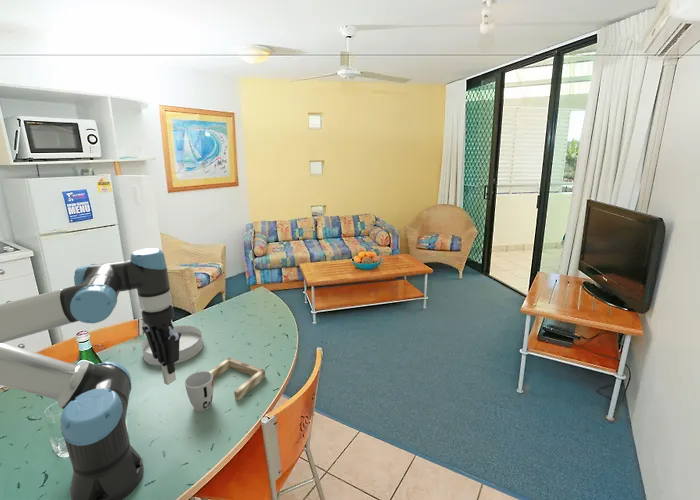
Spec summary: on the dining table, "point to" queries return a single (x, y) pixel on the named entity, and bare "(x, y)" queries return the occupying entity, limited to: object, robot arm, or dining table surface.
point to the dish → (187, 345)
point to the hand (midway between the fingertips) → (170, 381)
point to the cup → (200, 389)
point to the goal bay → (254, 371)
